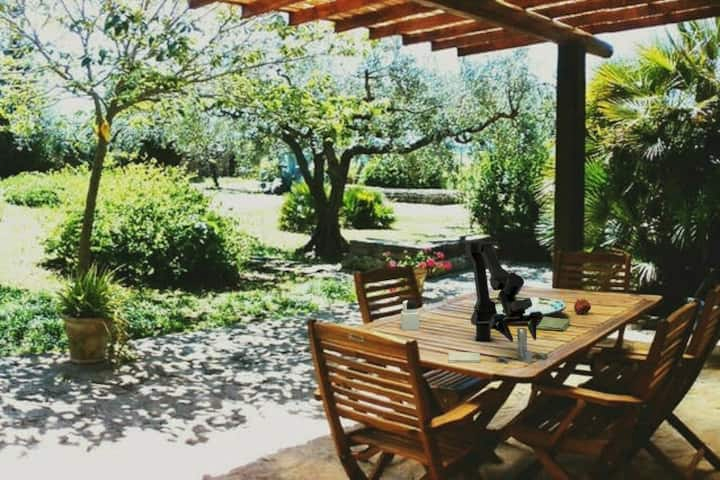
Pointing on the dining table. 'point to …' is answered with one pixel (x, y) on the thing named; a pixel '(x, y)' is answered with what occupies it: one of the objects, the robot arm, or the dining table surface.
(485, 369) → the dining table surface
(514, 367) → the dining table surface
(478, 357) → the cream ceramic tile
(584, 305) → the red spiky fruit
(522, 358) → the steel hook
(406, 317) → the medicine bottle
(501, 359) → the vise jaws
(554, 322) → the washcloth
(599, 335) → the dining table surface
